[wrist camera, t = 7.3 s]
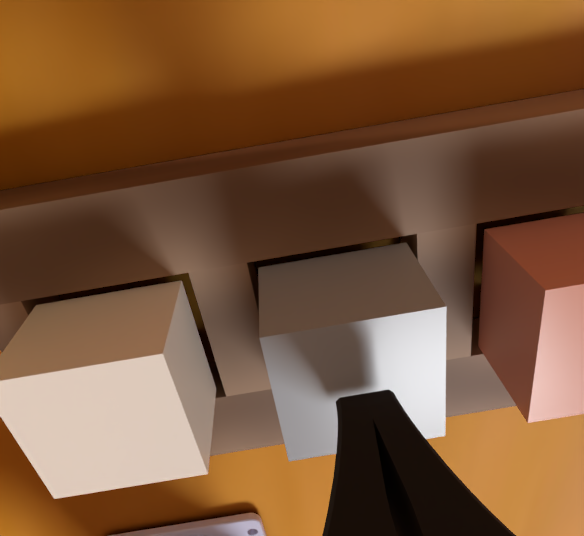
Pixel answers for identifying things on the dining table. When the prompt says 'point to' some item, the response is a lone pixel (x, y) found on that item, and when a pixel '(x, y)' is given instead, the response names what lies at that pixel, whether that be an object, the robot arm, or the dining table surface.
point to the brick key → (536, 314)
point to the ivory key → (110, 390)
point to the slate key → (351, 341)
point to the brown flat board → (298, 231)
